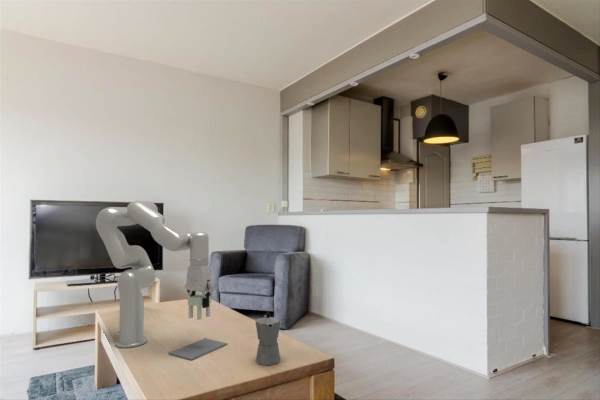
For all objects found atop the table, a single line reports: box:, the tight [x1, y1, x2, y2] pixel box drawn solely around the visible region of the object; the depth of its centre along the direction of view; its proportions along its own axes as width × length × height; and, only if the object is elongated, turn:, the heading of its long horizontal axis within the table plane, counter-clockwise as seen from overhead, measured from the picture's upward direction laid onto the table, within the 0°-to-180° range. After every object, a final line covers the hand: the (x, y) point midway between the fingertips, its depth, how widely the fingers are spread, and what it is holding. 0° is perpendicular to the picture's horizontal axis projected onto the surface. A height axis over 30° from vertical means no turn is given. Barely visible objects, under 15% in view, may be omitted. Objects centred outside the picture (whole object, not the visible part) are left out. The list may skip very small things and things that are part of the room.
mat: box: [167, 337, 228, 362], centre depth 153 cm, size 13×20×1 cm, turn 149°
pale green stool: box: [187, 293, 212, 321], centre depth 154 cm, size 6×6×8 cm
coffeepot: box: [255, 312, 281, 367], centre depth 142 cm, size 15×9×18 cm, turn 13°
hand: (199, 306), depth 154 cm, fingers closed on pale green stool, 6 cm apart
